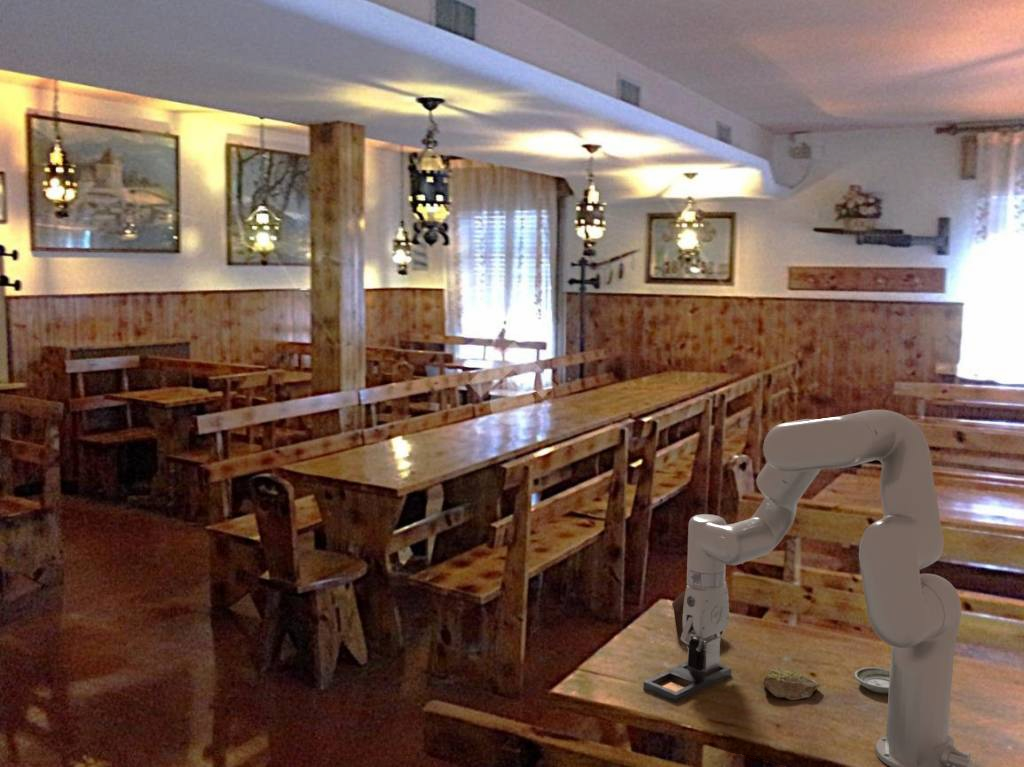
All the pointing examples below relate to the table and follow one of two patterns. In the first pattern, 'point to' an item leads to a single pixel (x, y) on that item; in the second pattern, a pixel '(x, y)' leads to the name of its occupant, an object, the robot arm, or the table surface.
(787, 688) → the rock
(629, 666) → the table surface
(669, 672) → the dark grey slotted tray
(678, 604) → the muffin
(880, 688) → the saucer
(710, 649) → the silver rectangular block
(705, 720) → the table surface
